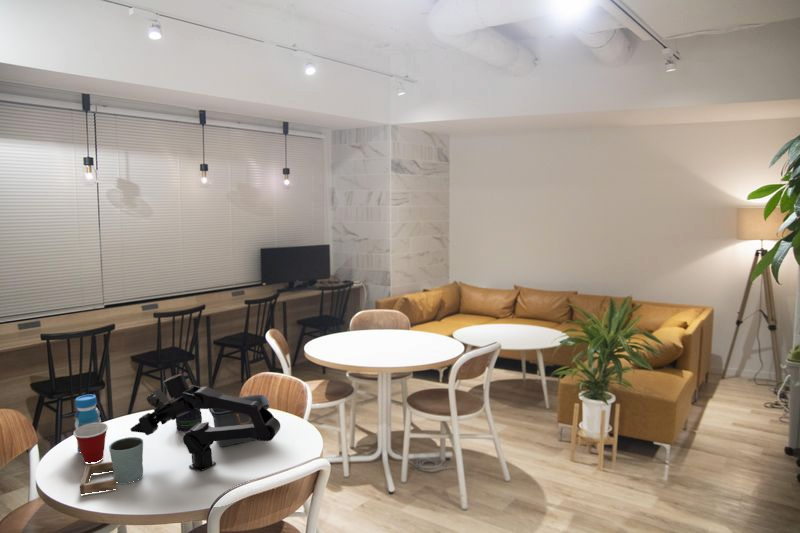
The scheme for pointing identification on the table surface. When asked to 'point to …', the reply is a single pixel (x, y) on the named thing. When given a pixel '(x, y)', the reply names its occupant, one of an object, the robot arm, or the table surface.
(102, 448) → the plastic cup
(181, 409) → the robot arm
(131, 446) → the green plant pot
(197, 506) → the table surface
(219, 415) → the storage bin
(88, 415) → the beverage bottle
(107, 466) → the walnut bay
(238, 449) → the table surface
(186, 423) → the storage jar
